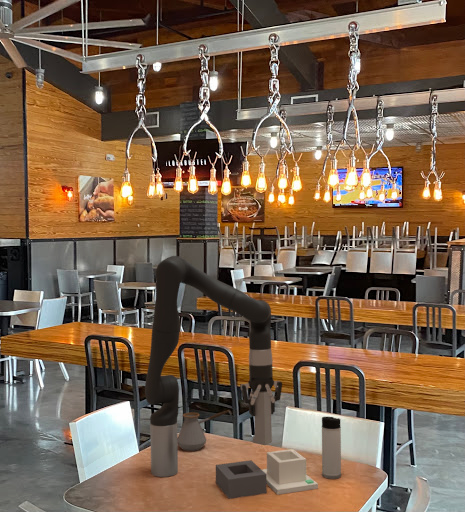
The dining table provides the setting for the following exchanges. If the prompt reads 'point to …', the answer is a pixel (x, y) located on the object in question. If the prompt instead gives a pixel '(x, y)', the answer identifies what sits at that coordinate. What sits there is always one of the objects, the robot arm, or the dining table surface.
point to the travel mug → (331, 448)
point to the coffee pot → (193, 431)
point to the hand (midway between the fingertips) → (262, 414)
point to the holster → (240, 479)
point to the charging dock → (287, 472)
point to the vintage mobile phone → (262, 419)
